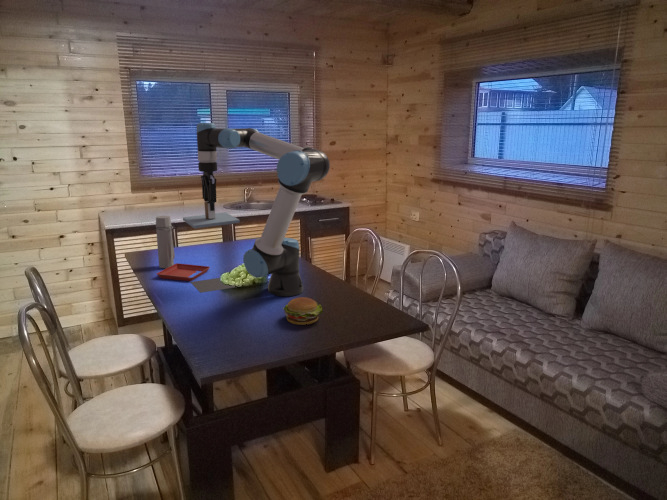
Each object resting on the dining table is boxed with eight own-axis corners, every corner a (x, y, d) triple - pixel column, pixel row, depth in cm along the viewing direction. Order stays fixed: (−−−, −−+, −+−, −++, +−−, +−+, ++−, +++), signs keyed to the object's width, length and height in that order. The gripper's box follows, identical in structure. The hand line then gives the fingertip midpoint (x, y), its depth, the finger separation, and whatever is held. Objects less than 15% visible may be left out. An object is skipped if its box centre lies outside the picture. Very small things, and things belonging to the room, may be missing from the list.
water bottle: (155, 267, 246) (151, 217, 239) (167, 264, 252) (163, 214, 246) (169, 270, 241) (165, 219, 235) (180, 266, 248) (177, 216, 242)
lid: (239, 222, 211) (238, 203, 209) (194, 228, 202) (192, 208, 200) (225, 214, 227) (224, 196, 225) (182, 220, 218) (181, 201, 216)
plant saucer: (211, 272, 241) (210, 266, 240) (192, 284, 224) (191, 277, 223) (176, 269, 245) (176, 263, 244) (156, 280, 228) (155, 273, 227)
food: (288, 329, 178) (288, 308, 175) (280, 314, 191) (280, 294, 189) (325, 325, 181) (326, 304, 179) (316, 311, 194) (316, 291, 192)
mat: (237, 288, 219) (237, 286, 219) (200, 293, 211) (200, 292, 211) (225, 277, 232) (224, 276, 232) (190, 283, 224) (190, 282, 224)
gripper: (223, 162, 203) (225, 220, 209) (210, 159, 217) (212, 213, 223) (204, 163, 199) (207, 221, 205) (192, 160, 213) (195, 214, 219)
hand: (210, 217), depth 214 cm, fingers closed on lid, 4 cm apart
